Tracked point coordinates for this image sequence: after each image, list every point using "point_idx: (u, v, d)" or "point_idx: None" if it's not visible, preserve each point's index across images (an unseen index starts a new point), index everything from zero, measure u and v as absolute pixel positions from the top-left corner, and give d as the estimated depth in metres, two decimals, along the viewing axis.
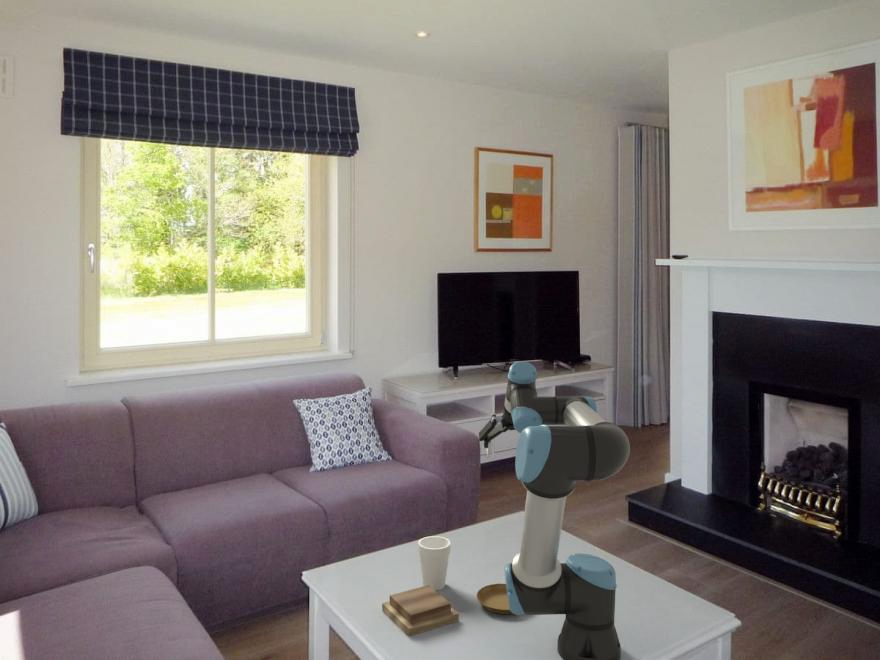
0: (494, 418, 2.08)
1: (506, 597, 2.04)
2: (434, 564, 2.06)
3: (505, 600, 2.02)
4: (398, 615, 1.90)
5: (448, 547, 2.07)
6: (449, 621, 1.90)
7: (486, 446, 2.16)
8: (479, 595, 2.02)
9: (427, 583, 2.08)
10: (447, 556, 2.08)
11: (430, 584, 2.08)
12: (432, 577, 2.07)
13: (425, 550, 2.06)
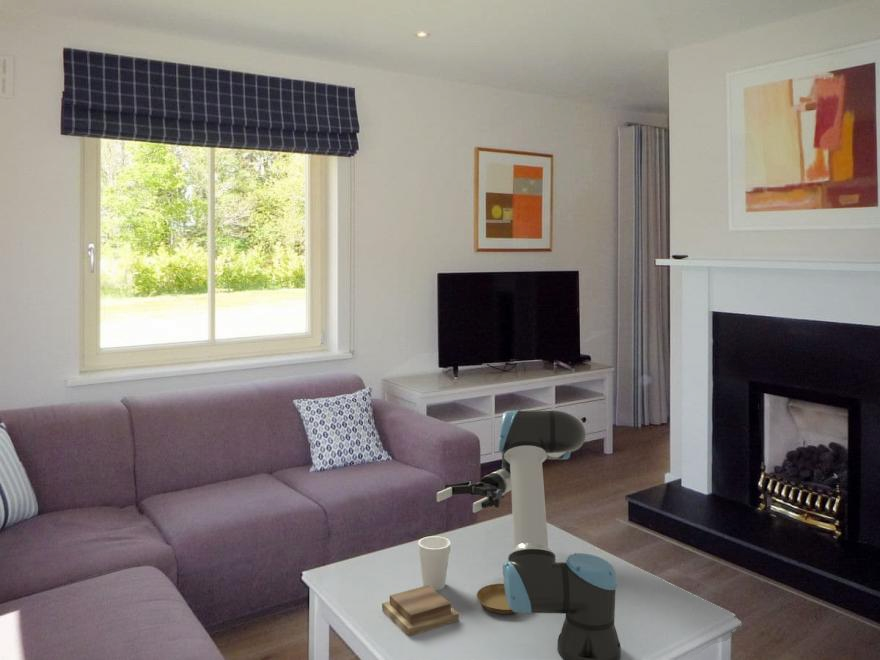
0: None
1: None
2: (434, 564, 2.06)
3: (505, 600, 2.02)
4: (398, 615, 1.90)
5: (448, 547, 2.07)
6: (449, 621, 1.90)
7: None
8: (479, 595, 2.02)
9: (427, 583, 2.08)
10: (447, 556, 2.08)
11: (430, 584, 2.08)
12: (432, 577, 2.07)
13: (425, 550, 2.06)
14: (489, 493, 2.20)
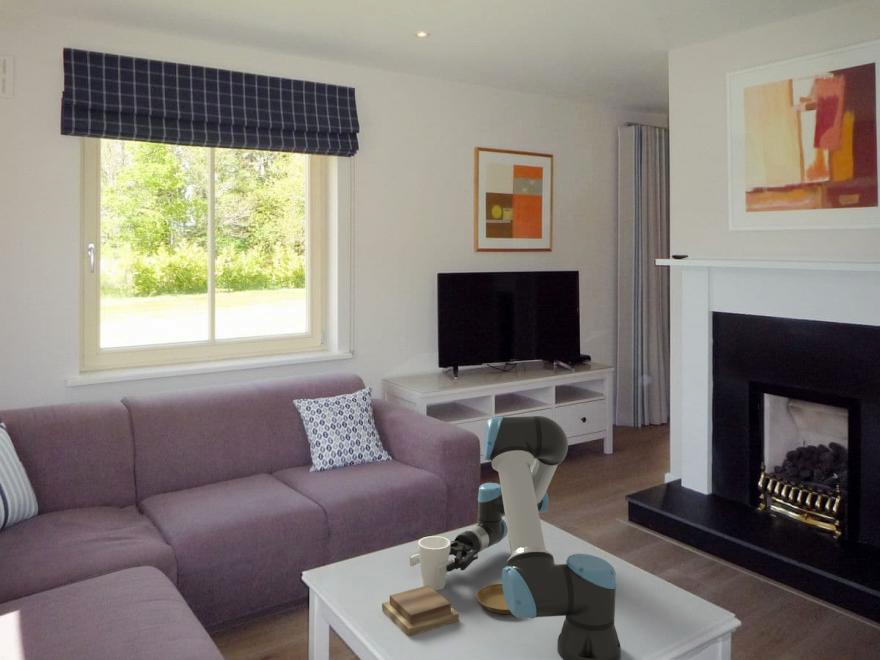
0: None
1: None
2: (434, 564, 2.06)
3: None
4: (398, 615, 1.90)
5: (448, 547, 2.07)
6: (449, 621, 1.90)
7: None
8: (479, 595, 2.02)
9: (427, 583, 2.08)
10: (447, 556, 2.08)
11: (430, 584, 2.08)
12: (432, 577, 2.07)
13: (425, 550, 2.06)
14: (458, 554, 2.12)
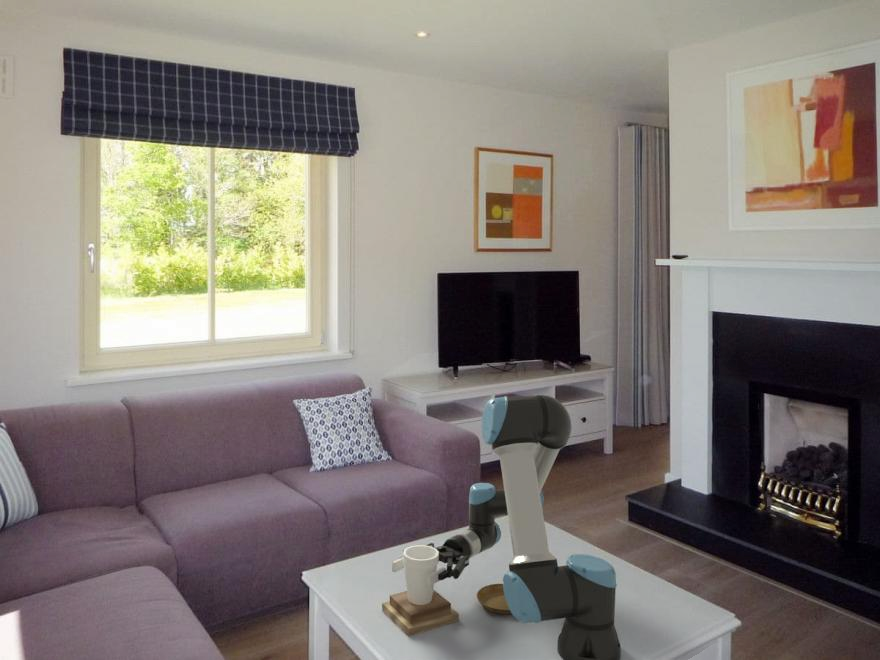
0: None
1: None
2: (420, 577, 1.88)
3: (505, 600, 2.02)
4: (398, 615, 1.90)
5: (436, 558, 1.90)
6: (449, 621, 1.90)
7: None
8: (479, 595, 2.02)
9: (412, 597, 1.90)
10: (435, 568, 1.90)
11: (415, 598, 1.90)
12: (418, 590, 1.89)
13: (411, 561, 1.88)
14: (449, 561, 1.94)
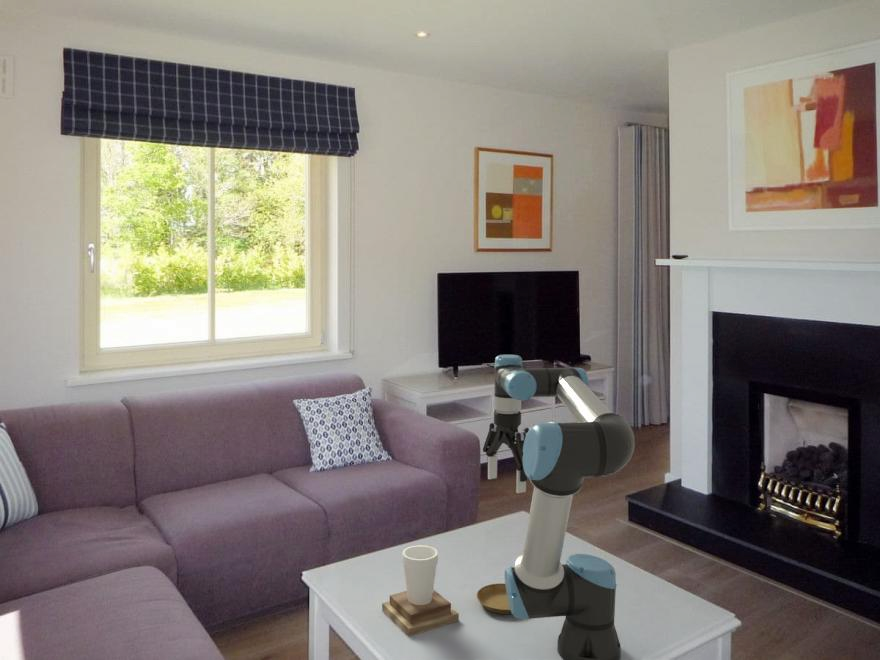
0: (493, 423, 2.06)
1: (506, 597, 2.04)
2: (419, 577, 1.88)
3: (505, 599, 2.02)
4: (398, 615, 1.90)
5: (435, 558, 1.90)
6: (449, 621, 1.90)
7: None
8: (479, 595, 2.02)
9: (412, 597, 1.90)
10: (434, 567, 1.90)
11: (415, 598, 1.90)
12: (418, 590, 1.89)
13: (410, 561, 1.88)
14: (514, 455, 1.97)
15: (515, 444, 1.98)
